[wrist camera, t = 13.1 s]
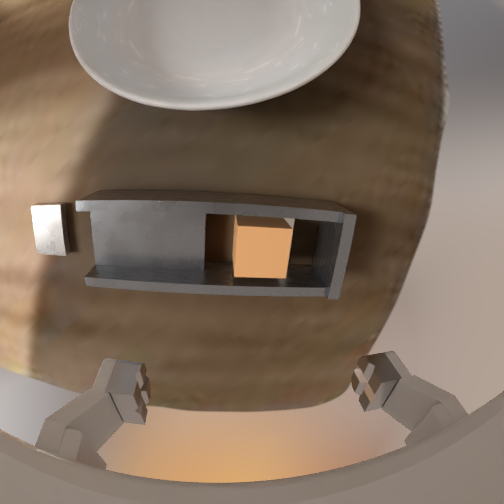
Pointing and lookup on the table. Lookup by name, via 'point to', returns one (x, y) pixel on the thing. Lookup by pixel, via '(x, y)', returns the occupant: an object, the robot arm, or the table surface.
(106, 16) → the serving bowl
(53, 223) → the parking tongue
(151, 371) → the table surface
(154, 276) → the rail
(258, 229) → the block
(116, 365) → the robot arm
